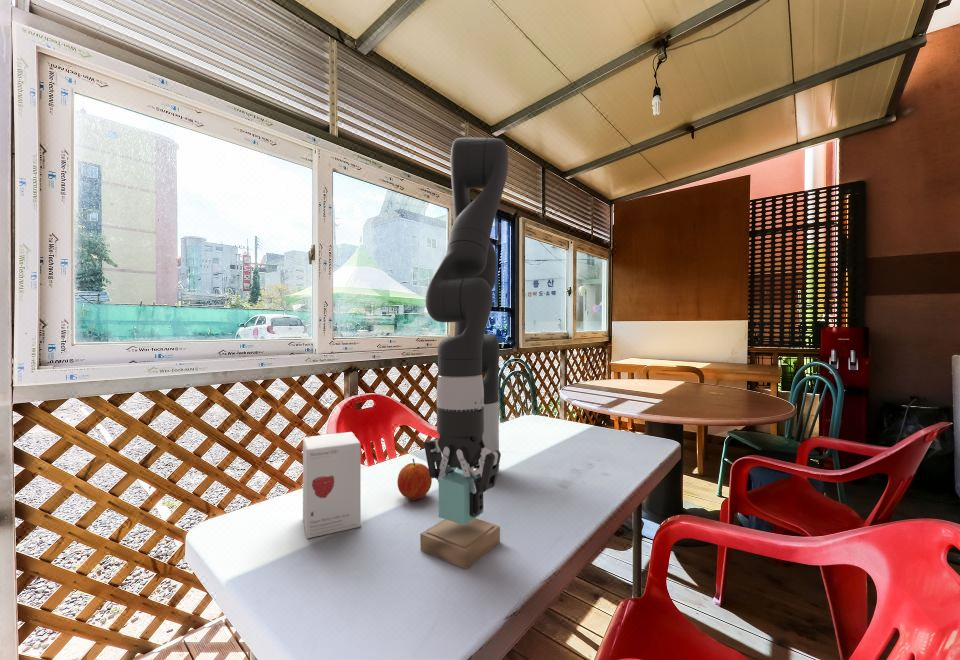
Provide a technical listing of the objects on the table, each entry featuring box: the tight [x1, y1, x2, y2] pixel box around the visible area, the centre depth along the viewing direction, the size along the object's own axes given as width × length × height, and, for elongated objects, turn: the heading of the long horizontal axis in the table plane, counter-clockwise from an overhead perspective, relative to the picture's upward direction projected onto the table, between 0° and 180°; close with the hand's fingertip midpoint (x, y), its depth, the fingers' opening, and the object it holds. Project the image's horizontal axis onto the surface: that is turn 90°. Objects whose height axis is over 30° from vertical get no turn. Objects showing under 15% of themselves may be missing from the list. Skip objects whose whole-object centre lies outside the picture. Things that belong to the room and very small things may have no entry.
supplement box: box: [302, 431, 362, 539], centre depth 71 cm, size 9×9×15 cm
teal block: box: [438, 469, 484, 525], centre depth 63 cm, size 5×5×6 cm
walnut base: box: [419, 517, 501, 570], centre depth 63 cm, size 9×9×3 cm
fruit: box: [396, 458, 433, 501], centre depth 81 cm, size 7×7×8 cm
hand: (461, 510), depth 63 cm, fingers closed on teal block, 5 cm apart
